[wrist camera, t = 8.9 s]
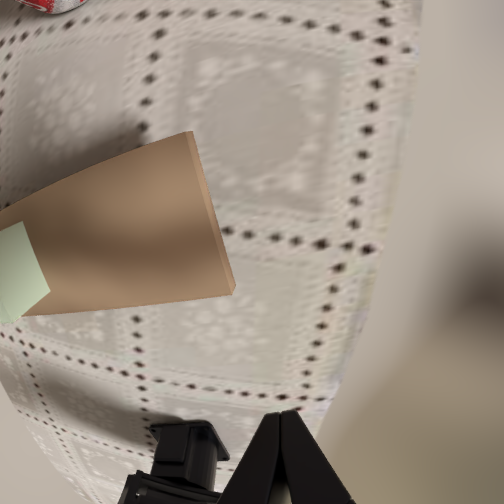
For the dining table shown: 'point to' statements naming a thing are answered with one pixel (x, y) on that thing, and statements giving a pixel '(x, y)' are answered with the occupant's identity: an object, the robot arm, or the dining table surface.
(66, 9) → the soda can
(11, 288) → the block
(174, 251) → the beam
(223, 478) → the dining table surface
